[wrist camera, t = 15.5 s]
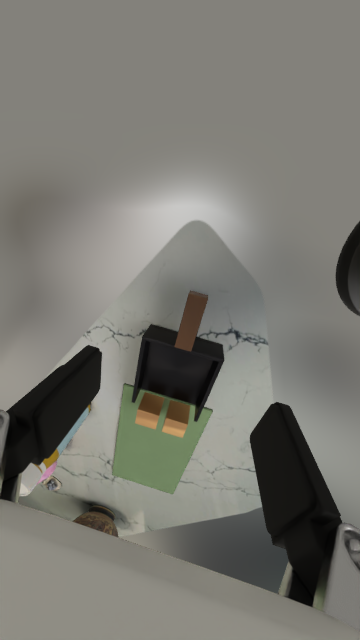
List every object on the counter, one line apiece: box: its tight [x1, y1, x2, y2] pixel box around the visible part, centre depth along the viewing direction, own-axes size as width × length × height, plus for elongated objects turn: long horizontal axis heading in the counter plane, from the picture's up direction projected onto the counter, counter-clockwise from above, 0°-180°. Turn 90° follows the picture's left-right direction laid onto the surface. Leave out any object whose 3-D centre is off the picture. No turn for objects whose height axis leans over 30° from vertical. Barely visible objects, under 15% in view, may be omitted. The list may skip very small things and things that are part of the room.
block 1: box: [135, 392, 164, 429], centre depth 34 cm, size 4×4×4 cm
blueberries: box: [43, 476, 61, 491], centre depth 59 cm, size 7×8×2 cm
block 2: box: [162, 400, 190, 438], centre depth 34 cm, size 4×4×4 cm
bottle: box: [19, 404, 91, 496], centre depth 33 cm, size 7×7×15 cm
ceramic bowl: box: [72, 505, 118, 537], centre depth 58 cm, size 24×18×15 cm
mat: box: [112, 384, 213, 494], centre depth 43 cm, size 36×18×1 cm, turn 166°
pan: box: [132, 290, 224, 422], centre depth 28 cm, size 22×12×4 cm, turn 166°
